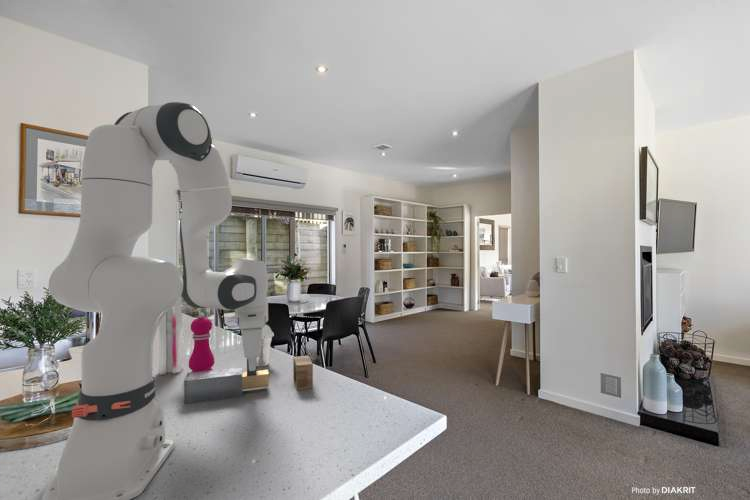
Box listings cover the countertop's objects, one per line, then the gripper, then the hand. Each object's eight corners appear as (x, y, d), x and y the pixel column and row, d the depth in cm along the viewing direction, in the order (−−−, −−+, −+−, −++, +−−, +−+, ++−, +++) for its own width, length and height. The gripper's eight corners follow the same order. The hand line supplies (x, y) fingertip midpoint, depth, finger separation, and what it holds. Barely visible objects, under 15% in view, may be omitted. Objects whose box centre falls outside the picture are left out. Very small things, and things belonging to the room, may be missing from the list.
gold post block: (268, 386, 99) (268, 352, 99) (189, 396, 92) (188, 360, 92) (268, 381, 102) (268, 349, 102) (191, 391, 96) (191, 356, 95)
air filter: (186, 368, 116) (185, 293, 116) (173, 375, 110) (172, 296, 109) (168, 367, 117) (167, 292, 117) (153, 375, 111) (153, 295, 110)
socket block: (312, 388, 101) (312, 363, 101) (296, 390, 100) (296, 365, 99) (308, 377, 109) (308, 355, 108) (293, 379, 107) (293, 357, 107)
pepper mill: (204, 382, 105) (203, 315, 105) (183, 380, 107) (182, 314, 106) (219, 373, 112) (219, 310, 112) (199, 371, 114) (199, 310, 113)
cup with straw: (242, 366, 119) (242, 307, 119) (262, 358, 127) (261, 303, 127) (261, 370, 115) (261, 309, 115) (280, 361, 123) (280, 304, 123)
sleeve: (242, 396, 96) (242, 374, 95) (184, 404, 91) (184, 380, 91) (242, 387, 101) (242, 366, 101) (187, 394, 96) (187, 372, 96)
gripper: (240, 309, 108) (240, 354, 108) (238, 324, 88) (239, 378, 89) (262, 308, 110) (262, 352, 110) (265, 322, 90) (265, 375, 91)
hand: (252, 364), depth 99 cm, fingers open, 8 cm apart
